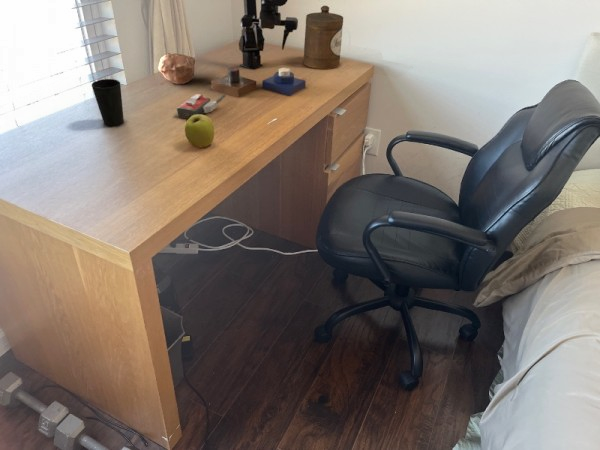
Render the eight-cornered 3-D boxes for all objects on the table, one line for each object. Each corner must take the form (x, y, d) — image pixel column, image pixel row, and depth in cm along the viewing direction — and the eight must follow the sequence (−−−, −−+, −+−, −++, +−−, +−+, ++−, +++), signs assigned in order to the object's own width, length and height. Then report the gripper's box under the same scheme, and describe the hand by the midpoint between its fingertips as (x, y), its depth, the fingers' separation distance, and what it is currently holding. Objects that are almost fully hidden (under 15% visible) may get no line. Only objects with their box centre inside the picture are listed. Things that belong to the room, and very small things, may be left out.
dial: (225, 81, 166) (225, 68, 163) (233, 78, 169) (232, 65, 166) (234, 83, 164) (234, 71, 162) (242, 80, 167) (241, 68, 164)
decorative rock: (161, 87, 167) (157, 58, 161) (158, 77, 175) (154, 49, 170) (199, 84, 171) (196, 56, 165) (194, 74, 179) (192, 47, 173)
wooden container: (340, 70, 190) (345, 10, 177) (303, 68, 189) (305, 9, 176) (338, 58, 202) (343, 2, 189) (303, 57, 201) (305, 1, 188)
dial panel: (212, 89, 167) (211, 80, 166) (230, 81, 174) (229, 73, 172) (238, 97, 162) (238, 88, 160) (256, 89, 169) (256, 80, 167)
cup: (132, 120, 144) (125, 81, 137) (117, 130, 138) (108, 90, 131) (111, 116, 146) (103, 77, 139) (94, 125, 140) (85, 85, 133)
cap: (276, 75, 168) (276, 69, 167) (282, 72, 171) (282, 67, 169) (285, 78, 166) (285, 72, 165) (292, 75, 169) (292, 69, 168)
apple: (210, 131, 137) (210, 103, 130) (217, 150, 133) (216, 123, 125) (183, 134, 135) (180, 106, 127) (188, 154, 131) (186, 126, 123)
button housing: (262, 88, 170) (262, 74, 167) (278, 80, 177) (278, 67, 174) (290, 95, 165) (290, 81, 162) (305, 87, 172) (306, 74, 169)
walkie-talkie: (199, 122, 144) (227, 99, 160) (198, 109, 142) (226, 87, 157) (173, 118, 146) (203, 96, 162) (172, 104, 144) (202, 83, 159)
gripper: (236, 3, 149) (238, 53, 158) (296, 6, 149) (294, 57, 158) (242, -4, 158) (244, 44, 167) (298, -1, 158) (297, 47, 167)
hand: (269, 48), depth 165 cm, fingers open, 9 cm apart
